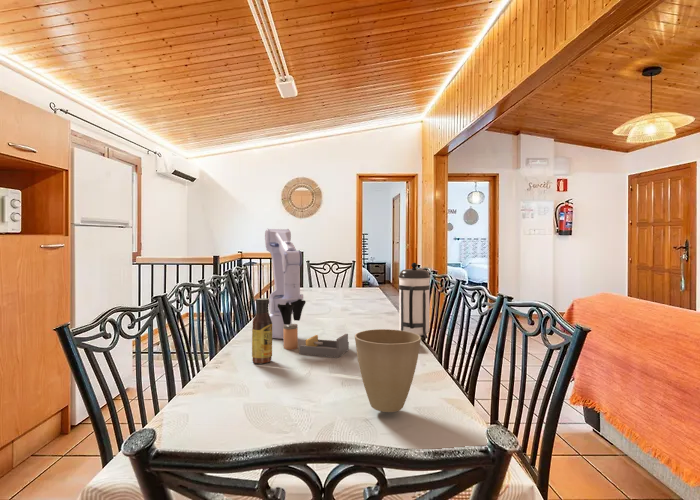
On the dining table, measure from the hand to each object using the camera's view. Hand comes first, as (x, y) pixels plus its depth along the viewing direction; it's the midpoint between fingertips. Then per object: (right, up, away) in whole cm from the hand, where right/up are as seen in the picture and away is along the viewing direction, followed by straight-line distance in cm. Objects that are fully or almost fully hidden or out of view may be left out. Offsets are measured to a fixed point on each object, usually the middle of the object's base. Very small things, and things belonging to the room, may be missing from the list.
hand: (292, 322), depth 139 cm
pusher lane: (+12, -9, -5) cm, 16 cm away
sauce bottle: (-7, -10, -16) cm, 20 cm away
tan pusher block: (+9, -8, -3) cm, 13 cm away
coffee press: (+47, -9, +17) cm, 51 cm away
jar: (-1, -10, 0) cm, 10 cm away
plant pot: (+29, -10, -51) cm, 60 cm away
